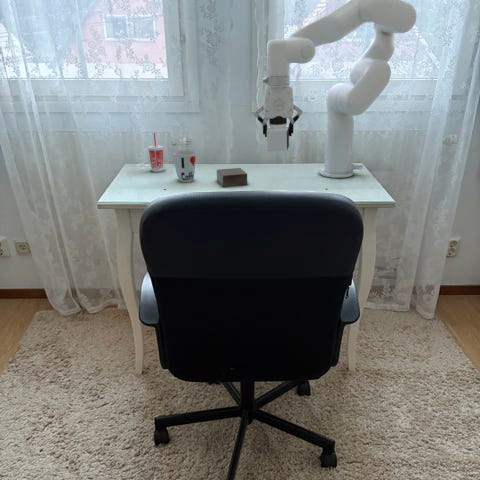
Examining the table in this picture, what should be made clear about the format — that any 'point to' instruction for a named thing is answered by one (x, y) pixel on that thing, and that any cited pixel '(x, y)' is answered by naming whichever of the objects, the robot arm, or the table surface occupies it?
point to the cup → (185, 165)
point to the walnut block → (231, 177)
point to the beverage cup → (156, 157)
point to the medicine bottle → (278, 134)
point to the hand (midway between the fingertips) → (278, 135)
